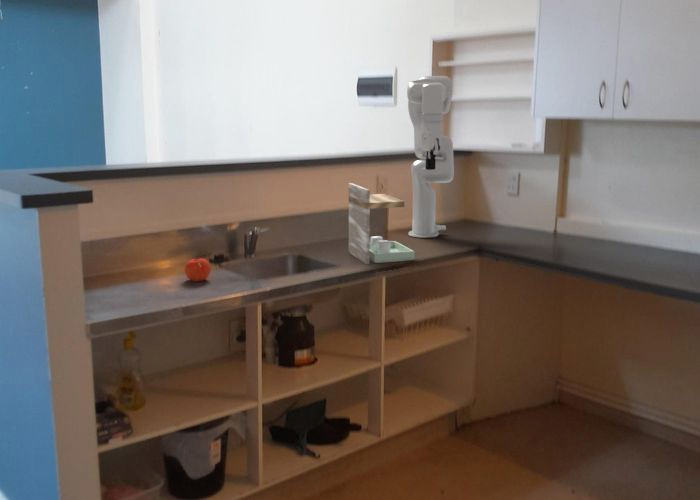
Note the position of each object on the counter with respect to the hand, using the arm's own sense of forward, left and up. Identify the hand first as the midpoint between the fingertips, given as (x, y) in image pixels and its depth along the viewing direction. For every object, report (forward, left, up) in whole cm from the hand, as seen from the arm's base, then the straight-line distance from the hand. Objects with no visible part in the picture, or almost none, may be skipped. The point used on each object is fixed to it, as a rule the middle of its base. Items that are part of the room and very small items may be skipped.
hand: (430, 169), depth 262 cm
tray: (+18, +3, -31) cm, 36 cm away
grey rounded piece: (+20, -1, -30) cm, 36 cm away
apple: (+87, +17, -31) cm, 94 cm away
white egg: (+20, +7, -30) cm, 37 cm away
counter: (+22, +3, -31) cm, 38 cm away
